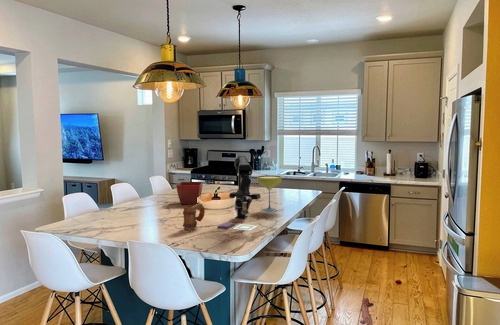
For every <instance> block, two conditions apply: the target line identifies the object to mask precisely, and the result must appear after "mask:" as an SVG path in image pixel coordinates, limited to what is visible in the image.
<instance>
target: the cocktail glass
mask: <svg viewBox="0 0 500 325" xmlns="http://www.w3.org/2000/svg"><path fill="white" fill-rule="evenodd" d="M256 180H257V183H258V184H259V185H261V186H262V187H265V188H266V190H267V191H268V207H267V208H266V207H265V208H263V209H261V210H262V211H263V212H275V211H274V210H276V209H277V208H273V207H272V206H271V190H272V189H273V188H275V186H278V185H280V184H281V183H282V176H280V175H259V176H257V178H256ZM276 211H277V210H276Z"/></svg>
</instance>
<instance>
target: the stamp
mask: <svg viewBox="0 0 500 325" xmlns="http://www.w3.org/2000/svg"><path fill="white" fill-rule="evenodd" d="M249 211H250V210H249V209H248V210H247V202H242V210H241V214H243V215H246V216H247V215H249Z"/></svg>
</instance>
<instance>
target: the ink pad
mask: <svg viewBox="0 0 500 325" xmlns="http://www.w3.org/2000/svg"><path fill="white" fill-rule="evenodd" d="M235 226H236V223H234V222H224V223H223V222H222V224H219V225H217V229H222V230H223V229H225V230H229V229H230V228H232V227H235Z"/></svg>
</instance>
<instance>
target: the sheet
mask: <svg viewBox="0 0 500 325" xmlns="http://www.w3.org/2000/svg"><path fill="white" fill-rule="evenodd" d="M258 227H259V225H252V224H243V223H240V224H238V225H235V226H233V228H232V227H231V228H232V230H239V231H247V232H248V231H249V232H250V231H253V230H254V229H256V228H258ZM252 229H253V230H252Z"/></svg>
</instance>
